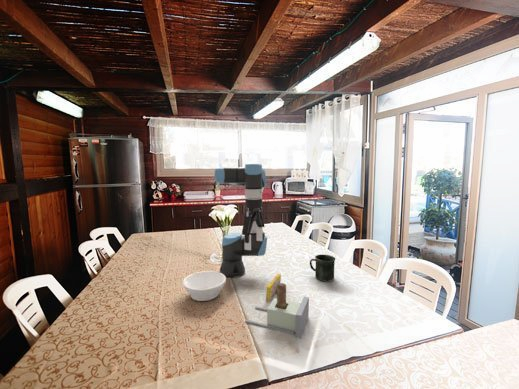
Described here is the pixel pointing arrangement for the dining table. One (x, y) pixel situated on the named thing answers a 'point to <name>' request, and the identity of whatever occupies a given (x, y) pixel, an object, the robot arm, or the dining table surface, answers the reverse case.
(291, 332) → the board
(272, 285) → the candy box
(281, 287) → the dowel
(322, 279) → the mug
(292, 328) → the block
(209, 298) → the bowl
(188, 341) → the dining table surface
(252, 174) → the robot arm
